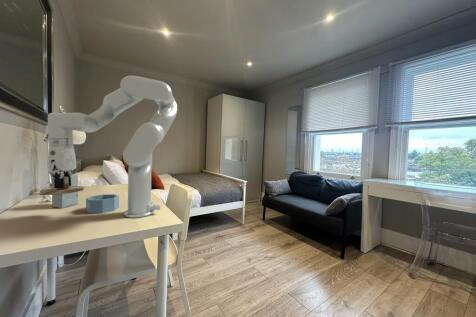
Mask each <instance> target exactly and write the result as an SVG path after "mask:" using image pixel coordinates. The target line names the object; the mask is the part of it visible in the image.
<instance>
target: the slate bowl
mask: <svg viewBox="0 0 476 317" xmlns="http://www.w3.org/2000/svg"><path fill="white" fill-rule="evenodd" d="M119 202H120V196H119V195H118V194H106V193H105V194H97V195H96V194H95V195H92V196H89V197H87V198H85V212H87V213H89V214H105V213H110V212H113V211H116V210H117V209H119V207H120V204H119Z"/></svg>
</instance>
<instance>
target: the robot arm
mask: <svg viewBox="0 0 476 317" xmlns="http://www.w3.org/2000/svg"><path fill="white" fill-rule="evenodd" d="M119 85H120V88H117V89H115V90H114V91H111V92H110V93H107V95H105V96H104V97H103V100H102V104H101V106H100V107H99V108H97V110H95V111H94V112H91V113H90V114H86V113H82V112H68V113H66V112H64V113H63V112H50V113H48V114H47V133H48V134H47V135H48V150H47V151H48V152H47V167H48V172H47V173H48V174H49V175H51V177H52V176H53V179H54V188H64V178H63V177H68V180H69V186H71V176H72V174H73V172H74V170H75V169H76V168H77V158H76V152H75V148H74V140H73V139H74V138H73V137H74V135H73V131H77V132H83V133H94V132H97V131H98V130H100V129H103V128H104V127H105V126H106V125H108V124H110V123H112V121H114V120H115V118H117V117H118V116H119V115H120V114H121V113H123V112H125V111H126V110H128V109H130V108H131V107H133V106H134V105H136V104H138V103H140V102H141V101H143V100H144V99H145V100H151V101H155V103H156V104H157V105H158V109H157V110H156V111H155V113H154V115H153V116H152V117H151V120H149V122H145V123H143V124H142V123H141V125H140V126H139V127H138V128H137V129H136V130H135V133H134V134H133V136H132V137H131V139H130V140H129V141H128V143H127V145H126V146H125V147H124V150H123V151H122V160H123V161H124V163H125V164H126V165H127V166H128V171H127V174H128V175H127V209H126V210H125V211H124V212H123V216H124V217H126V218H130V219H131V218H135V219H137V218H144V217H148V216H151V215H153V214H154V213H155V211H160V210H161V205H160V204H153V201H152V170H153V168H152V167H153V152H154V150H155V149H156V147H157V146H158V145H159V144H161V142H162V141H163V140H164V138H165V136H166V134H167V132H168V131H169V129H170V128H171V126H172V125H173V122H174V120H175V119H176V117H177V115H178V103H177V101H176V100H175V97H174V95H173V91H172V88H171V87H170V85H168V84H167V82H164V81H162V80H157V79H152V78H149V77H148V78H147V77H144V76H138V75H127V76H124V77H123V78H121V80H120V84H119Z"/></svg>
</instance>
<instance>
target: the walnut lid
mask: <svg viewBox="0 0 476 317" xmlns="http://www.w3.org/2000/svg"><path fill="white" fill-rule="evenodd" d="M63 178H64V188H52V187H51V188H46V189H41V190H40V195H41V196H42V195H43V196H52V195H58V194H67V193H74V192H78V193H79V192H82V191H84V186H83V185H78V186H69V180H68V177H63Z"/></svg>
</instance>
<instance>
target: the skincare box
mask: <svg viewBox="0 0 476 317" xmlns="http://www.w3.org/2000/svg"><path fill="white" fill-rule="evenodd" d="M78 176H79V175H78V174H73V173H72V176H71V186H79V183H78V182H79V177H78ZM51 188H54V179H53V176H52V175H51ZM78 204H79V191H78V192H74V193H67V194H58V195H51V207H52V208H60V209H64V208H68V207H72V206H75V205H78Z"/></svg>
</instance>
